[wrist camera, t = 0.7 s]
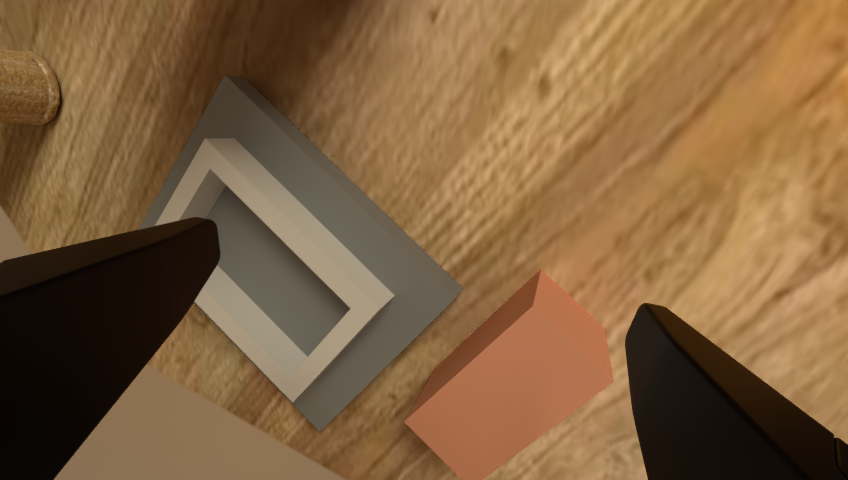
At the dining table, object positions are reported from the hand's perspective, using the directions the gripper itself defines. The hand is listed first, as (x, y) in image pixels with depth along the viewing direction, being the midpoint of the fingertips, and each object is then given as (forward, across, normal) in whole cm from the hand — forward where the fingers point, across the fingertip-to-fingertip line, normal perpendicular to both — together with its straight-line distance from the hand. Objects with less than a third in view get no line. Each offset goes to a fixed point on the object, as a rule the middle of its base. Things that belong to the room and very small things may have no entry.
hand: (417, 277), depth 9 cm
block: (+10, -4, +10) cm, 15 cm away
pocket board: (+13, +9, +9) cm, 18 cm away
